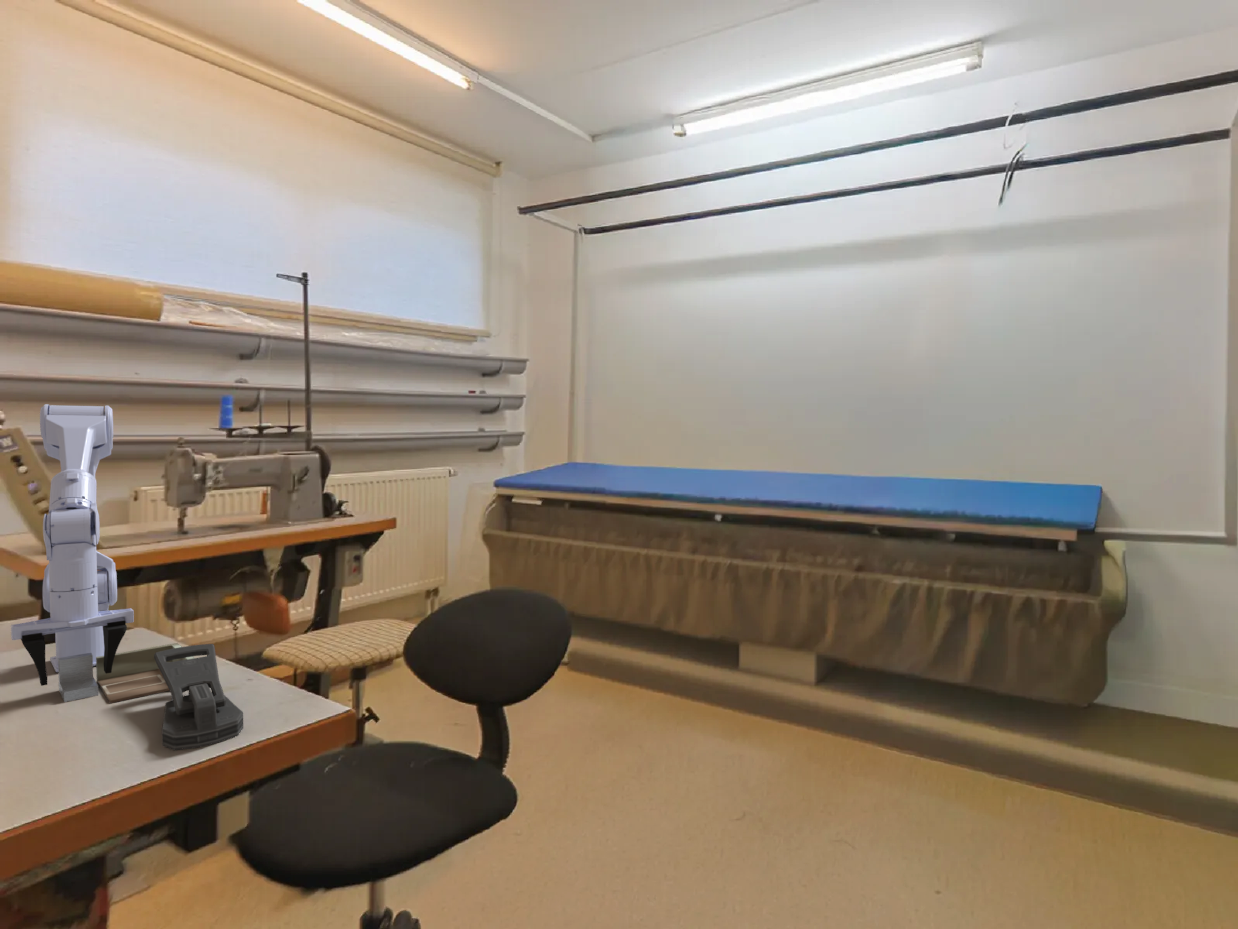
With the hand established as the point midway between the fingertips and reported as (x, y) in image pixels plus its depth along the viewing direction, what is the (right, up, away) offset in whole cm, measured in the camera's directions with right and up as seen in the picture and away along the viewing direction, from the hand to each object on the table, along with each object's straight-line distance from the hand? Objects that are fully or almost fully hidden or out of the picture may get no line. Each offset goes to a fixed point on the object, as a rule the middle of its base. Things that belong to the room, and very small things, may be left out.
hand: (76, 677), depth 106 cm
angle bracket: (+1, -2, -1) cm, 2 cm away
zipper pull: (+23, -3, -9) cm, 25 cm away
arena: (+8, -2, +3) cm, 9 cm away
